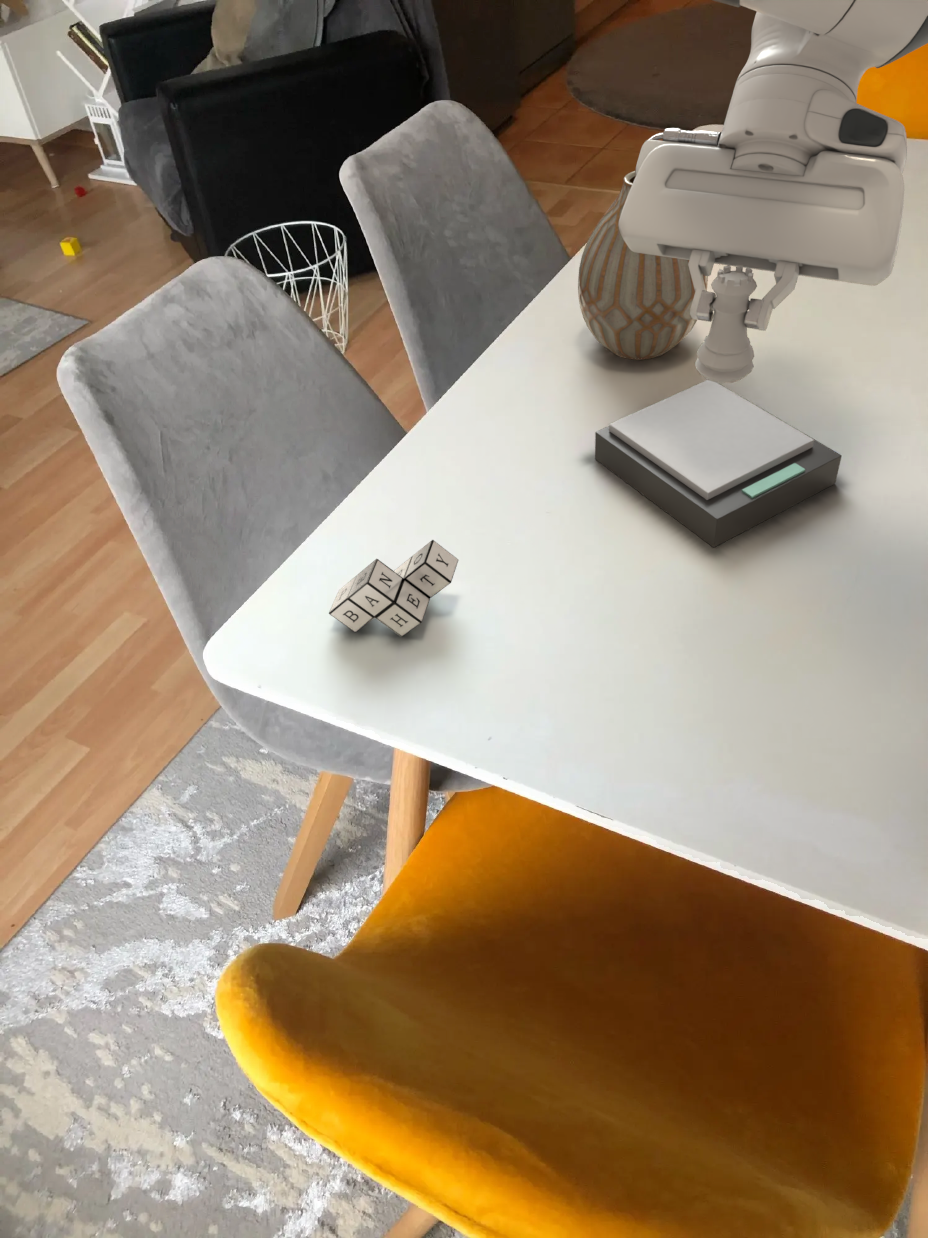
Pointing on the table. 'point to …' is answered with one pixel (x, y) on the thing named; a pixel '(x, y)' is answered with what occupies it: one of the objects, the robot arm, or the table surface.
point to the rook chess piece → (728, 329)
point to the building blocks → (395, 591)
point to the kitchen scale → (715, 460)
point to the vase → (633, 291)
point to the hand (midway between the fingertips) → (727, 322)
